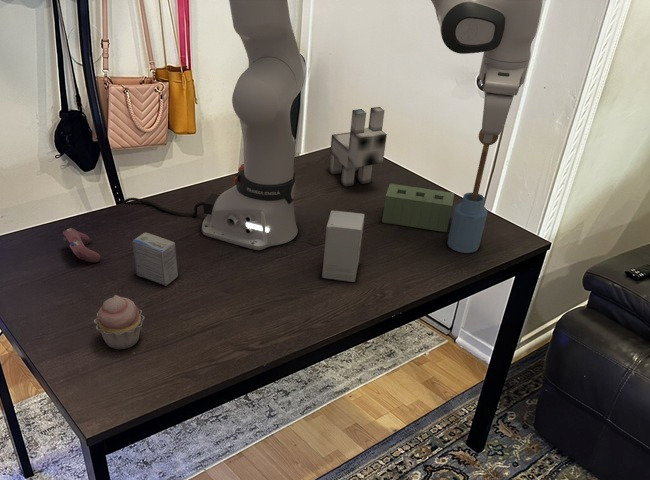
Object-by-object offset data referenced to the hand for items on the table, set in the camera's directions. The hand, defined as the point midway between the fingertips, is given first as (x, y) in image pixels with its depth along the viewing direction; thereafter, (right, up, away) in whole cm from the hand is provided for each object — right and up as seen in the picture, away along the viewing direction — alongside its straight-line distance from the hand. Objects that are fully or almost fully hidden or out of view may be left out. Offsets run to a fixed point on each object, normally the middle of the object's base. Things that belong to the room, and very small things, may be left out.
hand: (487, 139), depth 147 cm
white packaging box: (-30, -27, +7) cm, 41 cm away
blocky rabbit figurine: (-24, +3, +41) cm, 48 cm away
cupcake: (-73, -43, -13) cm, 86 cm away
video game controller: (-87, -23, +9) cm, 90 cm away
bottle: (-1, -19, +17) cm, 25 cm away
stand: (-10, -12, +25) cm, 29 cm away
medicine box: (-69, -28, +3) cm, 75 cm away
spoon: (0, -10, +9) cm, 14 cm away
